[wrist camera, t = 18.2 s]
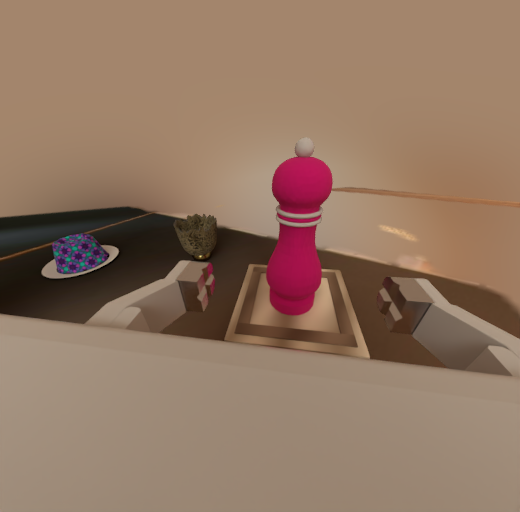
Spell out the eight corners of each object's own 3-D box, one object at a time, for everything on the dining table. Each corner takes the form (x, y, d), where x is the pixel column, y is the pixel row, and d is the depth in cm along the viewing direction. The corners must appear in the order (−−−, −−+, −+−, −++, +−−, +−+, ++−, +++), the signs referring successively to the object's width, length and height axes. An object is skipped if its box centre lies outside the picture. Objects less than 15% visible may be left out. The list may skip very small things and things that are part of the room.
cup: (207, 245, 44) (201, 210, 40) (228, 256, 40) (224, 219, 36) (176, 258, 40) (165, 221, 35) (196, 273, 35) (187, 232, 31)
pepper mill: (256, 295, 29) (250, 138, 19) (291, 277, 33) (303, 137, 22) (290, 328, 24) (308, 138, 14) (328, 303, 28) (364, 136, 17)
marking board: (224, 343, 23) (223, 338, 23) (249, 266, 37) (249, 263, 36) (368, 360, 21) (370, 356, 21) (339, 273, 35) (340, 269, 34)
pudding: (28, 273, 37) (10, 248, 34) (95, 244, 46) (84, 223, 43) (70, 288, 33) (53, 261, 30) (133, 253, 42) (124, 230, 40)
